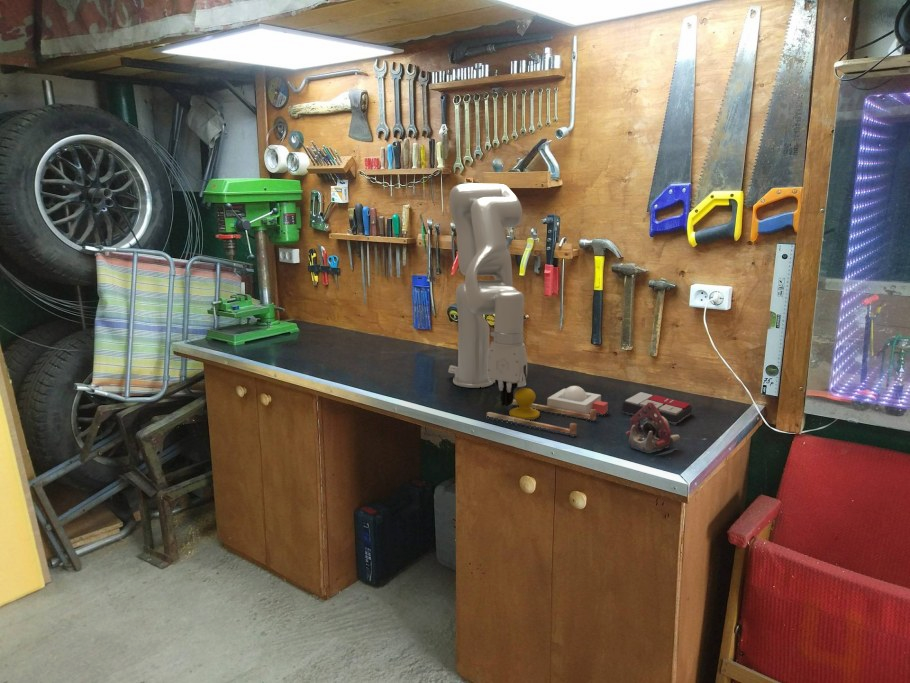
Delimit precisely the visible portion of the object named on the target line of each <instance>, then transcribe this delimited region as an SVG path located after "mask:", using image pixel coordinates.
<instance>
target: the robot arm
mask: <svg viewBox="0 0 910 683" xmlns="http://www.w3.org/2000/svg"><path fill="white" fill-rule="evenodd" d="M449 192H450V193H449V197H448V203H449V205H448V206H449V210H450V211H449V212H450V216H451V218H452V222H453V224H454V227H455V231H456V244H457V245H456V246H457V259H458V260H457V262H458V268H459V271H460V273H461V274H462V275H463V276H465V279H464V282H461V283H460V284H458V286H456V289H455V303H456V304H455V305H456V311H457V319H458V320H457V322H458V323H457V324H458V326H457V330H458V331H457V332H458V335H457V336H458V339H457V344H458V346H457V348H458V349H457V350H458V352H457V358H458V359H457V366H456V365H449V367H448V371H447V373H450V374H454V377H453V379H452V383H453V384H454V385H456V386H458V387H462V388H470V389H471V388H472V389H479V388H480V387H481V388H485V387H486V388H487V387H491V386H492V385H493V384H494V383H495V385H497V387H498V389H499V390H498V391H500V402H501V406H503V407H509V406H512V405H511V404H512V402H513V400H514V391H515V390H516V389H517V388H524V387H525V386H526V385H527V381H526V380H527V377H528V358H527V357H528V356H527V349H526V345H525V343H523V342H524V311H525V310H524V308H525V295H524V294H523V292H522V291H519V290H517V288H515V287H514V284H513V269H512V268H513V267H512V265H513V264H512V257H511V253H510V251H509V249H508V246H507V239H506V232H505V228H516V227H518V226H519V225H520V224H521V223H522V220H523V208H522V204H521V202H520V200H519V198H518V197H517V195H516V194H515V193H514V192H513V191H512V190H511V189H510V188H509V186H507V185H506V184H503V183H502V184H500V183H474V182H473V183H471V182H470V183H461V184H457V185H455V186H453V187H452V189H451V190H450V191H449ZM478 277H493V278H494V280H493V279H492V280H491V279H490V280H488V279H487V280H485V279H483V280H478ZM485 315H494V328H493V331H490V330H491V329H490V324H489V323H488V321H487V320H486V319H485V317H484V316H485ZM490 336H491V337H493V341H491V342H490Z"/></svg>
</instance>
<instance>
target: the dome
mask: <svg viewBox="0 0 910 683" xmlns="http://www.w3.org/2000/svg"><path fill="white" fill-rule="evenodd" d="M565 389H566V390H565V391H564V393H563V399H567V400H573V401H578V402H583V401H584V400H586V393H585V392H586V391H585V390H584V389H583V388H582V387H580V386H579V385H570V386H568V387H567V388H565Z"/></svg>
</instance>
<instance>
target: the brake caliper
mask: <svg viewBox="0 0 910 683" xmlns="http://www.w3.org/2000/svg"><path fill="white" fill-rule="evenodd" d="M644 412H645V413H646V414H645V413H644ZM640 414H641V416H640ZM642 420H643V422H642V425H641V421H642ZM629 422H630V430H628V431H626V432H625V435H626V436H627V437H628V445H629V446H630V445H631V446H634V447H638V448H640V449H643V450H654V449H656V450H657V449H662V448H665V447H667V446H669V447H671V446H673V445H674V444H676V442H678V441H679V440H681V437H680V436H681V435H679V434H672V431H671V429H670V424H669V423H668V421H667V419H666V418H664V417H663V416H661V415H660V413H659V411H658V409H657V408H656V406H655V405H654V404H653V403H652V402H649V403H648V404H646V405H645V406H644V407H643V408H642V409H640V410H639V411H638V412H637V413H636V414H635V415H634V416H632V417H631V418H630V419H629ZM631 446H630V447H631ZM665 449H666V448H665Z"/></svg>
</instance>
